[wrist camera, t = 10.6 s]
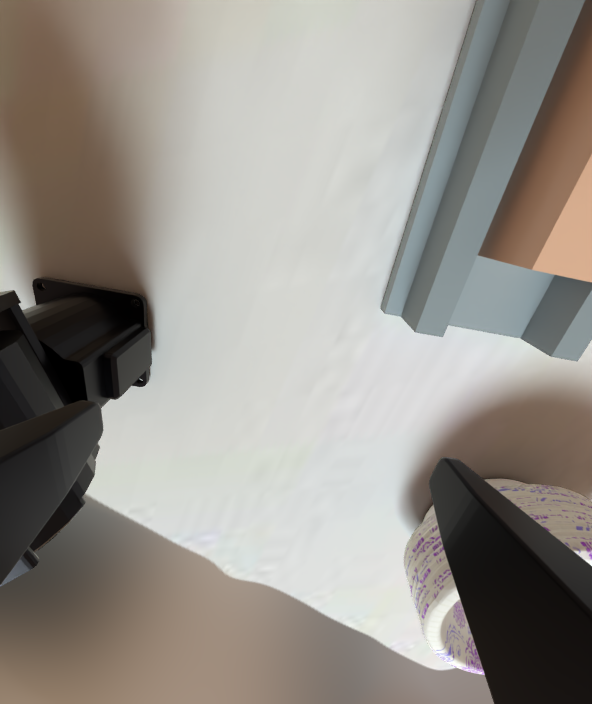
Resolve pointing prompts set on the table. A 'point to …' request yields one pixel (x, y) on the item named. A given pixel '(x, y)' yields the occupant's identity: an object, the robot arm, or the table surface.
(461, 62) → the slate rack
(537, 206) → the clay strip
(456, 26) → the table surface
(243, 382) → the table surface
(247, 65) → the table surface
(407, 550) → the white purple speckled bowl
